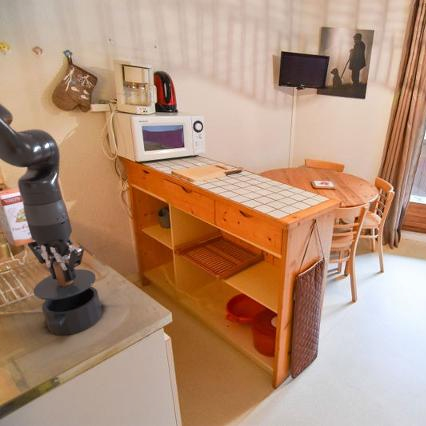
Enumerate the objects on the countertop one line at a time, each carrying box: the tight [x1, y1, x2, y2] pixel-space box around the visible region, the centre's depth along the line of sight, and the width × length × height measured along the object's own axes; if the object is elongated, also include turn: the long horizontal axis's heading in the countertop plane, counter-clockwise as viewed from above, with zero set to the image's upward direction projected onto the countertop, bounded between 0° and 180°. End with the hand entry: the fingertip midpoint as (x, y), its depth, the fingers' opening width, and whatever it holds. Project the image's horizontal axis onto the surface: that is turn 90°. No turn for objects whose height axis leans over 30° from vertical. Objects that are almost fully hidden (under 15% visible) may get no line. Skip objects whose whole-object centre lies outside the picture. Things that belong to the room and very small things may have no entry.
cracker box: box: [0, 187, 35, 248], centre depth 117 cm, size 14×6×21 cm, turn 154°
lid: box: [33, 261, 97, 301], centre depth 80 cm, size 13×13×7 cm
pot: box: [41, 286, 103, 337], centre depth 85 cm, size 12×17×7 cm
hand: (64, 278), depth 81 cm, fingers closed on lid, 3 cm apart
